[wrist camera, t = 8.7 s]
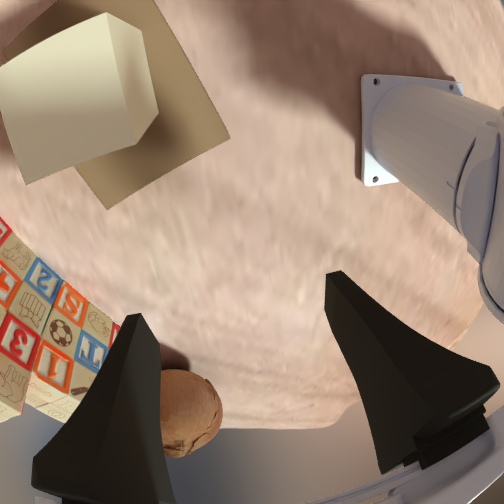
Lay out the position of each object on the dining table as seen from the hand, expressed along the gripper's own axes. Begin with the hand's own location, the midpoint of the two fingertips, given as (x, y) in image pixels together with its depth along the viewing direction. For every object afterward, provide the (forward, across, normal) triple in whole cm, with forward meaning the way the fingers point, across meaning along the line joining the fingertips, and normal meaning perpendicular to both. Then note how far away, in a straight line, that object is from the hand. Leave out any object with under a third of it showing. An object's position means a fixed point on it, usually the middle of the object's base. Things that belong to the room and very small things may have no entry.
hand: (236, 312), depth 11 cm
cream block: (+7, +4, -9) cm, 12 cm away
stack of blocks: (+10, +17, +4) cm, 20 cm away
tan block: (+10, +4, -9) cm, 14 cm away
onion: (+10, +9, +19) cm, 23 cm away
